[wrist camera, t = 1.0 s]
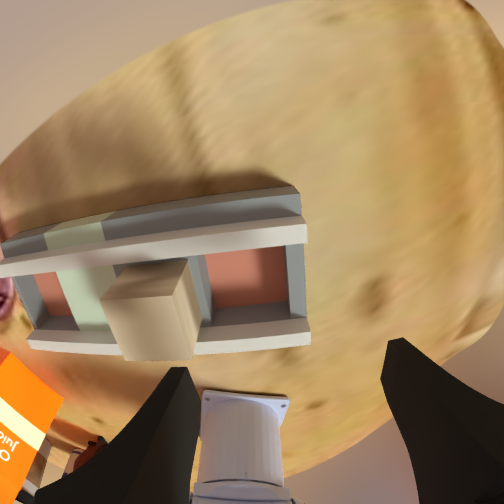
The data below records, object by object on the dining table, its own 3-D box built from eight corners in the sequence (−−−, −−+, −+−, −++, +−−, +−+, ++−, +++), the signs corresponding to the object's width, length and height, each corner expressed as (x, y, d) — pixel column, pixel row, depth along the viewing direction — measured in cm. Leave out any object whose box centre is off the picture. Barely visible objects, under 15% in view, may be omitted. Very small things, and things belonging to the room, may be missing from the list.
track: (293, 185, 17) (305, 199, 14) (301, 321, 21) (310, 358, 17) (18, 233, 18) (-12, 251, 15) (57, 333, 22) (37, 359, 18)
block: (188, 259, 16) (172, 295, 13) (202, 317, 18) (191, 360, 14) (126, 266, 17) (99, 300, 13) (144, 320, 18) (125, 360, 14)
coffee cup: (12, 416, 31) (-19, 475, 17) (43, 430, 31) (13, 496, 17) (34, 442, 34) (9, 497, 20) (65, 455, 34) (42, 516, 20)
